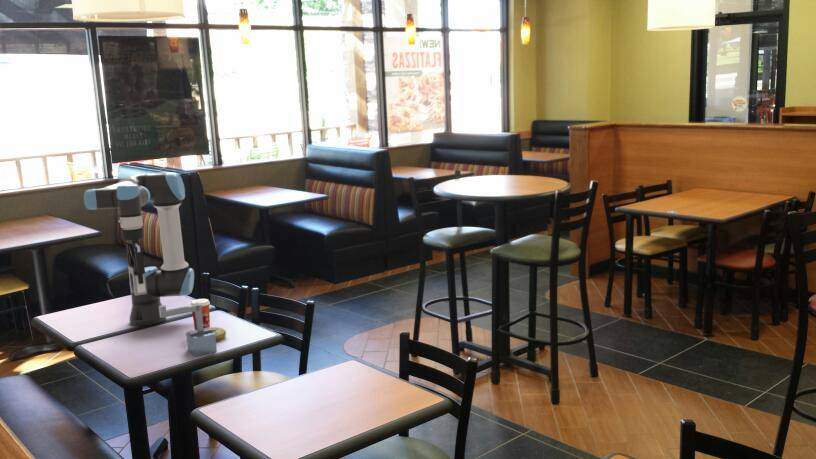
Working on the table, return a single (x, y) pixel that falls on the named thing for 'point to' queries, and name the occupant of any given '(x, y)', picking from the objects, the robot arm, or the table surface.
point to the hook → (133, 280)
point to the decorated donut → (219, 333)
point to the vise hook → (197, 339)
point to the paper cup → (205, 312)
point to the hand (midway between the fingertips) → (138, 289)
